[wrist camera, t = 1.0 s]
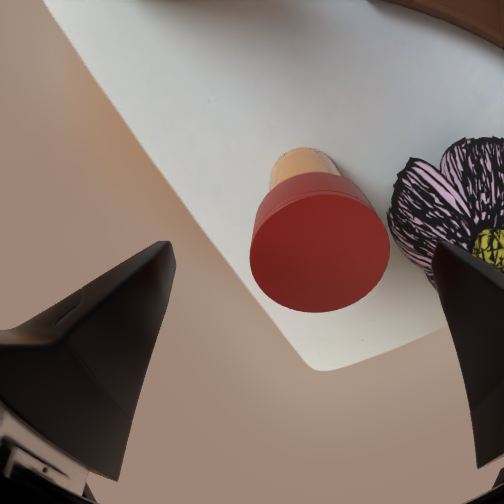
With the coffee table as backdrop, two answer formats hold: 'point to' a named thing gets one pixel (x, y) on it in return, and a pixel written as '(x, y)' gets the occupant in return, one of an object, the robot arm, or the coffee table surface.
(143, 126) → the coffee table surface
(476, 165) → the decorative flower
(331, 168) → the orange lidded jar
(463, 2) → the tray
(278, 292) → the jar lid
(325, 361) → the coffee table surface
